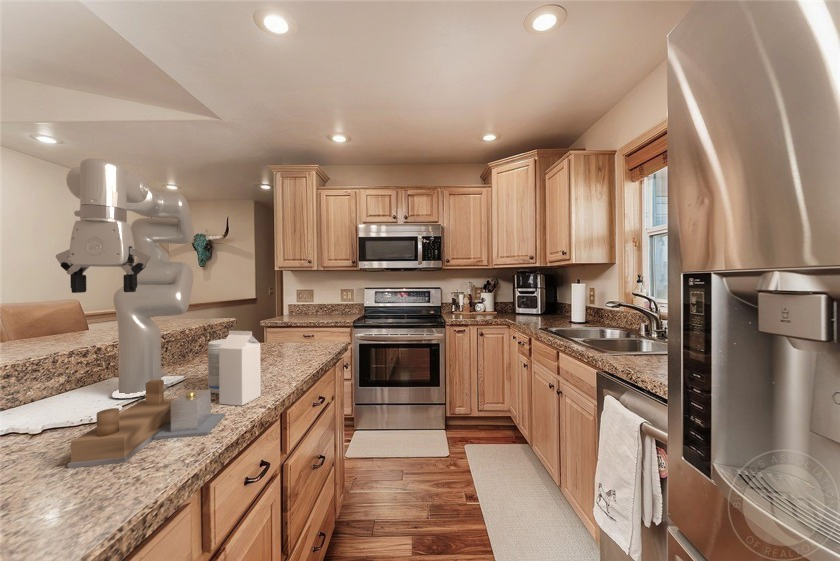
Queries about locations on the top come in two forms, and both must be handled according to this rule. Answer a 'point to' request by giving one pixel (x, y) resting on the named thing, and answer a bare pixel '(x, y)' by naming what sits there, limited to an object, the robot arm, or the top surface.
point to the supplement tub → (214, 365)
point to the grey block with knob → (190, 410)
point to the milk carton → (239, 369)
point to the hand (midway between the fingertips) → (104, 292)
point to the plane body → (123, 430)
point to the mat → (203, 430)
